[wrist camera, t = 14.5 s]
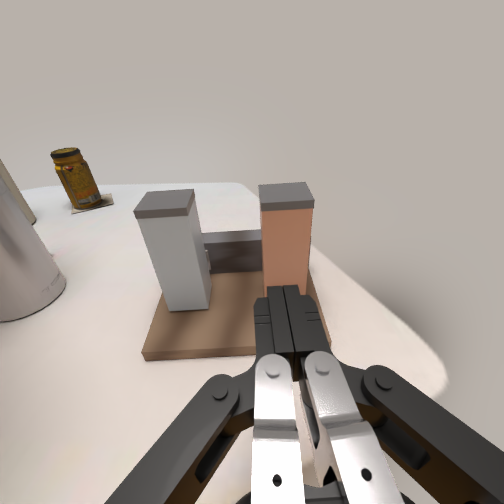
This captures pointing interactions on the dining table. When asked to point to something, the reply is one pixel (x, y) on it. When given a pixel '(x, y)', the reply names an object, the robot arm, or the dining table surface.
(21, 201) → the travel mug
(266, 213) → the orange-brown tall block
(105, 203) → the condiment
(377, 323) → the dining table surface
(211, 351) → the base
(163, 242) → the grey tall block
